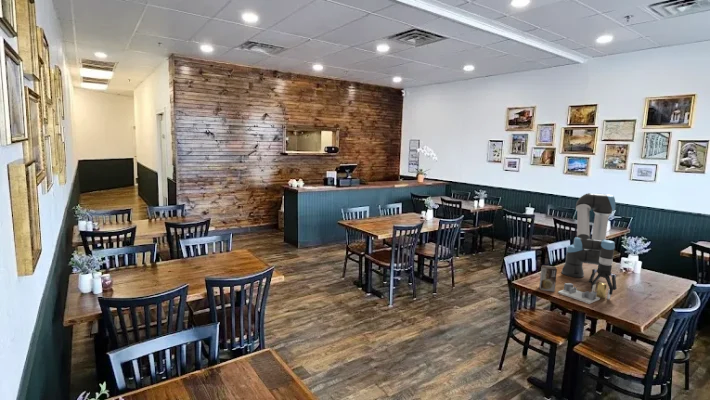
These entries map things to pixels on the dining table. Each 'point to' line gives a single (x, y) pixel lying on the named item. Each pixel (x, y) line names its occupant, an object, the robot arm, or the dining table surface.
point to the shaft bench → (579, 294)
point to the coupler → (601, 290)
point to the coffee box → (548, 278)
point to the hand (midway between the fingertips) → (600, 296)
